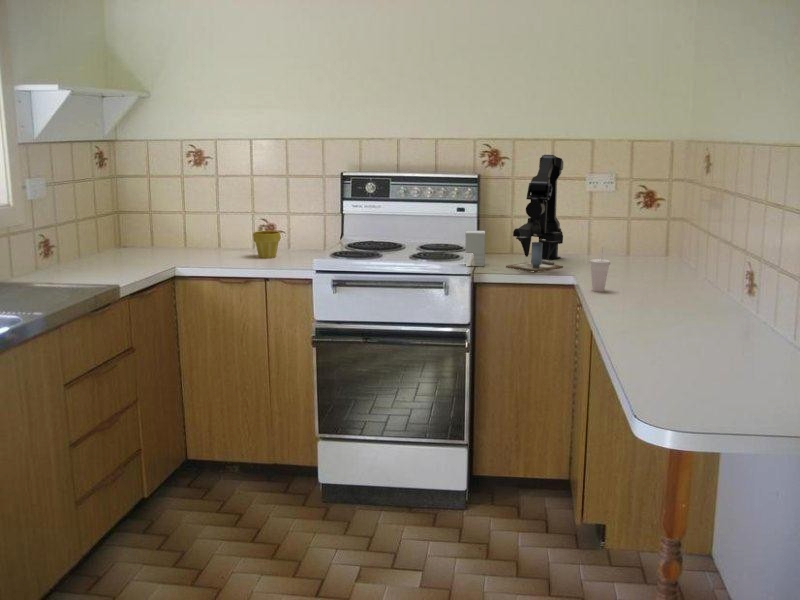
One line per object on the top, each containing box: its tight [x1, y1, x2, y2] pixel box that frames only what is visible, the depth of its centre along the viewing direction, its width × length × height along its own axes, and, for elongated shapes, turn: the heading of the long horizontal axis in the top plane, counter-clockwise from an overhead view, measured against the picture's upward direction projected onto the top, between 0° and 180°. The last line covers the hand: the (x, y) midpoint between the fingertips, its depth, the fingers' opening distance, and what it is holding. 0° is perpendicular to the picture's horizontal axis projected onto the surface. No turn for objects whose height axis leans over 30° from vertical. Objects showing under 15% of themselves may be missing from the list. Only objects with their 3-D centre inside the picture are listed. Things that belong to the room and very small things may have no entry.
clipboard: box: [505, 260, 564, 273], centre depth 308 cm, size 16×14×1 cm
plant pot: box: [252, 230, 281, 259], centre depth 325 cm, size 10×10×10 cm
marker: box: [530, 241, 543, 269], centre depth 302 cm, size 4×4×9 cm
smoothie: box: [589, 246, 611, 293], centre depth 265 cm, size 6×6×14 cm
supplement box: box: [464, 229, 486, 267], centre depth 312 cm, size 7×7×13 cm
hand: (536, 258), depth 302 cm, fingers open, 9 cm apart
